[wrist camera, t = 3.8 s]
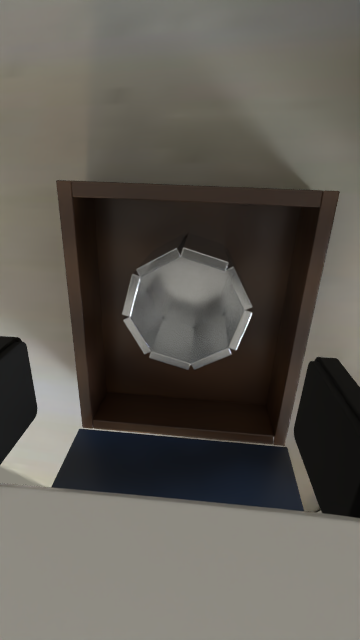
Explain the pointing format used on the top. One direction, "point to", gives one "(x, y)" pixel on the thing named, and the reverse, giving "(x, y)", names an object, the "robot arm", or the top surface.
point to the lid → (180, 469)
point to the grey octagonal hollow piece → (187, 303)
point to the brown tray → (259, 279)
